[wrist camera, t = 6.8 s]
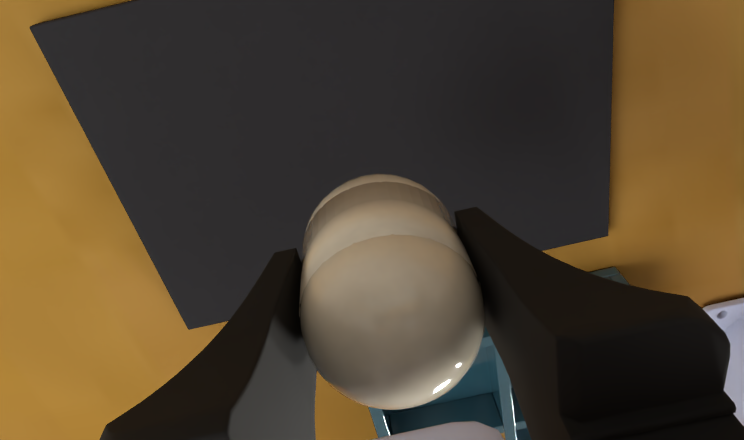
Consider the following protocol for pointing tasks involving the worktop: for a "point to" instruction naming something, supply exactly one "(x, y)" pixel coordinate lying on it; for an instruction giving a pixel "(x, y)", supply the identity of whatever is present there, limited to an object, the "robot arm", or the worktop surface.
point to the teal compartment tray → (472, 396)
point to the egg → (388, 294)
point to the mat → (335, 119)
